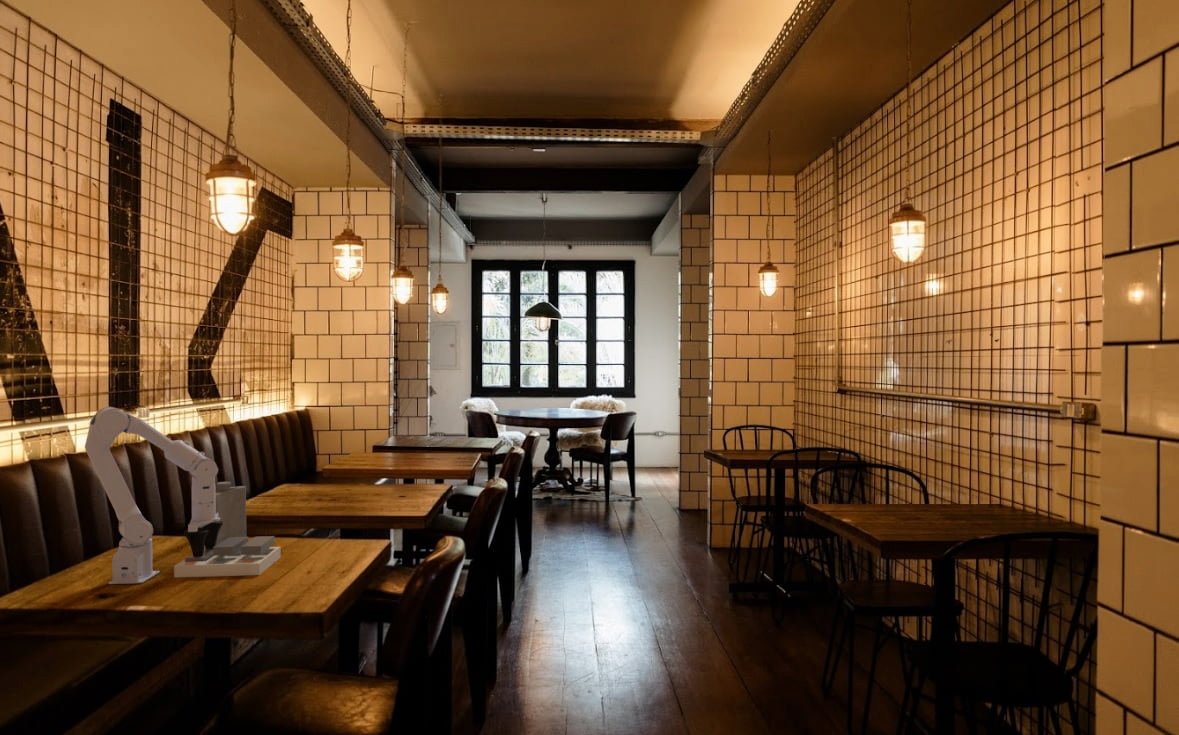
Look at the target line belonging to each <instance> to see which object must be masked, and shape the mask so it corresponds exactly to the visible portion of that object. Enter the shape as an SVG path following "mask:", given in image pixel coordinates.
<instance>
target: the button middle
mask: <svg viewBox="0 0 1179 735" xmlns="http://www.w3.org/2000/svg"><path fill="white" fill-rule="evenodd" d="M248 541H249V536H246V537H229V538H227V539H226V540H224V541H223V542H221V543H219V544H218V545H216V546H214V547H213V556H220V555H234V554H235V553H237V552H238V551H240V550H241V546H243V545H244V544H245V543H247V542H248Z"/></svg>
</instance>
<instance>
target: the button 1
mask: <svg viewBox="0 0 1179 735" xmlns="http://www.w3.org/2000/svg"><path fill="white" fill-rule="evenodd" d="M212 557H213V549H206V548H205V547H204V553H203V556H201V557H194V556H193V553H192V554H190V555H188V556H186V557H185V558H184V560H185V562H189V561H207V560H209V559H210V558H212Z"/></svg>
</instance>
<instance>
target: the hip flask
mask: <svg viewBox="0 0 1179 735" xmlns="http://www.w3.org/2000/svg"><path fill="white" fill-rule="evenodd" d="M216 484H217V485H216V486H217V491H216V513H219V517H220V520H219V521H223V525H222V526H221V528H220V530H219V533H218V536H217V541H216V545H218V544H219V543H221V542H223V541H224V540H226V539H227V538H229V537H247V486H245V485H239V486H232V482H231V481H219V482H217V483H216ZM216 545H215V546H216Z"/></svg>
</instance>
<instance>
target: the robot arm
mask: <svg viewBox="0 0 1179 735" xmlns="http://www.w3.org/2000/svg"><path fill="white" fill-rule="evenodd" d="M91 418H92V419H91V420H90V421H89V427H88V432H87V435H86V440H85V444H84V449H85V451H86V454H87V455H88V458H89V461H90V462H91V464H92V467H93V469H94V470H95V472H96V475H97V476H98V479H99V481H100V483H101V485H102V487H103V488H104V491H105V493H106V495H107V497H108V500H109V501H110V503H111V505H112V508H113V509H114V512H115V515H116V518H117V520H118V532H119V534H120V535H121V536H122V538H121V540H120V541H119V543H118V550H117V551H116V552H115V553H114V554H113V557H112V558H111V560H112V561H111V563H112V564H111V565H112V568H111V570H112V572H111V574H112V580H110V581H108V584H109V585H118V584H119V585H123V584H126V585H127V584H128V585H129V584H143V583H144V582H147V581H148V580H149V579H151V578H153V577H154V576H157V575H158V574H159V573H160V570H153V568H154V567H153V538H152V536H153V534H154V528H153V525H152V523H151V522H150V521H148V520H146V518H145V517H144V516H143V514H142V512H141V511H140V509H139V508H138V506H137V503H136V502H135V500H134V498H133V496H132V494H131V491H130V489H129V487H128V485H127V483H126V481H125V479H124V476H123V475H122V471H120V468H119V466H118V464H117V462H116V460H115V458H114V456H113V454H112V452H111V446H112V445H113V443H114V442H115V440H116V438H117V437H118V436H119V435H121V434H122V433H125V434H128V435H129V434H132V435H138V436H140V437H141V438H142V439H144V440H146V441H148V442H149V443H151V444H153V445H154V446H156V447H158V448H159V449H161V450H162V451H163V452H164V454H163V455H164V458H165V459H166V460H168V461H170V462H171V463H173V464H175V466H178V467H179V468H180V469H182V470H184V471H186V472H189V474H190V475H191V519H190V522H189V523H188V525H187V527H188V528H187V529H186V530H184V531H183V536H185V538H186V539H187V541H188V543H189V546H190V550H191V552H192V554H193V556H194V557H201V556H203V553H204V548H206V549H213V547H214V546H215V545H216V541H217V536H218V533H219V530H220V528H221V526H222V525H223V521H219V520H220V517H219V513H216V488H217V487H216V486H217V485H216V476H217V475H218V474H219V473H218V472H219V468H218V465H217V463H216V462H215V461H214V460H213V459H211V458H209V457H207V456H206V453H205V452H204V451H198V450H197V449H196V448H194V447H192V446H191V445H190V444H191V443H190V442H189V441H187V440H182V439H177V440H172V439H170V438H169V437H168V436H165V434H163V433H162V432H160V431H159V430H157V429H156V428H155V427H153V426H151V425H150V424H149V423H147V422H146V421H145V420H143V419H141V418H138V417H136V416H134V415H132V414H130V413H126V412H125V411H124V410H122V409H120V408H117V407H113V406H104V407H102V408H100V409H99V410H97V412H96V413H95V414H94V416H92V417H91Z"/></svg>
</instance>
